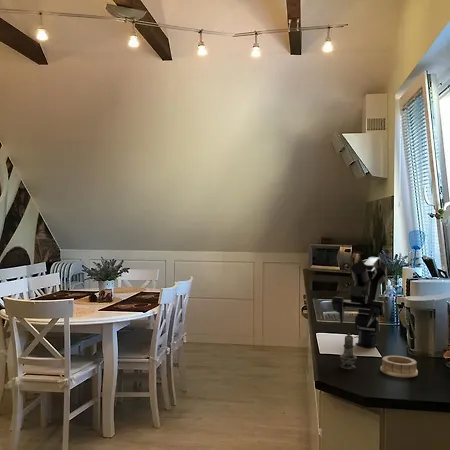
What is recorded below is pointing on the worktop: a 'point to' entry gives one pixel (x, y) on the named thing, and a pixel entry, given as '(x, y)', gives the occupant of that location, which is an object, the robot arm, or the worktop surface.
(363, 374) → the worktop surface
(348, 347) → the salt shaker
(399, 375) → the beige round ring
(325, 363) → the worktop surface
